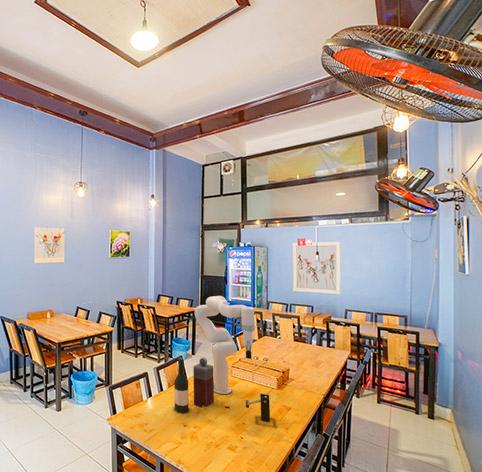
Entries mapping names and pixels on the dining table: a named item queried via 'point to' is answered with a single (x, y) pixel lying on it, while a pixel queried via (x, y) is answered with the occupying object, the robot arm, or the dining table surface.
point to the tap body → (265, 408)
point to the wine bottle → (181, 389)
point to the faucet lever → (252, 402)
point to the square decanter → (203, 384)
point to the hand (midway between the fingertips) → (248, 358)
